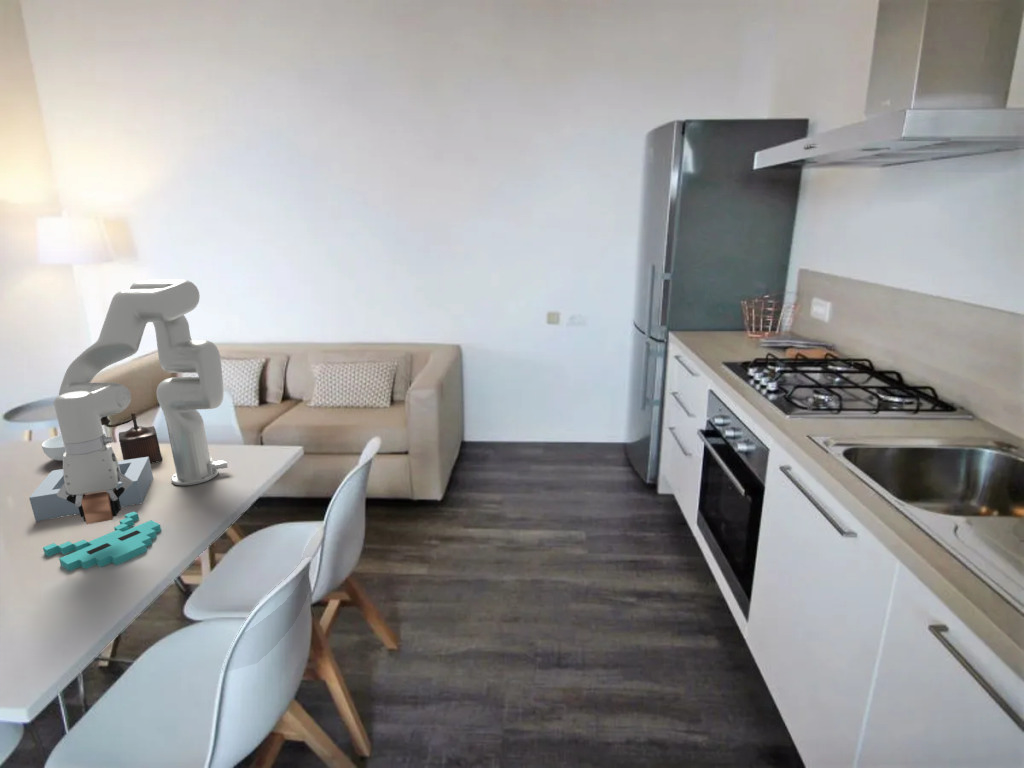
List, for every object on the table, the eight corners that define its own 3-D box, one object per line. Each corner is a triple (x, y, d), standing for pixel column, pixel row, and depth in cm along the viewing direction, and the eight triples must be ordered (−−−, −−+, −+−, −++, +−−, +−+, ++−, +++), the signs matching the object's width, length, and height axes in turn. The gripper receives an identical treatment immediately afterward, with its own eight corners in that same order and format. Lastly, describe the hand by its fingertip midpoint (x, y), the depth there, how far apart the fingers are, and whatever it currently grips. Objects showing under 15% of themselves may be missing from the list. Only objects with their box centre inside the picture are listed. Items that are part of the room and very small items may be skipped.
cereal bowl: (108, 443, 201) (104, 425, 199) (110, 458, 188) (105, 439, 186) (47, 455, 191) (42, 436, 189) (45, 472, 178) (39, 451, 176)
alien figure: (45, 555, 134) (83, 582, 124) (42, 547, 133) (81, 573, 123) (135, 518, 150) (175, 539, 140) (133, 511, 150) (174, 531, 139)
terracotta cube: (117, 510, 137) (112, 488, 136) (112, 519, 133) (106, 496, 131) (92, 514, 135) (87, 491, 134) (86, 524, 131) (81, 500, 129)
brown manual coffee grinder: (159, 450, 194) (149, 400, 189) (163, 461, 185) (152, 409, 180) (105, 461, 185) (92, 410, 180) (105, 473, 177) (93, 419, 172)
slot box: (153, 477, 173) (148, 456, 171) (141, 503, 157) (136, 480, 155) (57, 492, 164) (52, 470, 162) (35, 521, 148) (29, 497, 146)
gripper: (132, 434, 136) (146, 502, 141) (45, 445, 129) (63, 516, 134) (125, 444, 129) (140, 516, 134) (33, 457, 123) (53, 531, 128)
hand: (101, 515), depth 134 cm, fingers closed on terracotta cube, 5 cm apart
